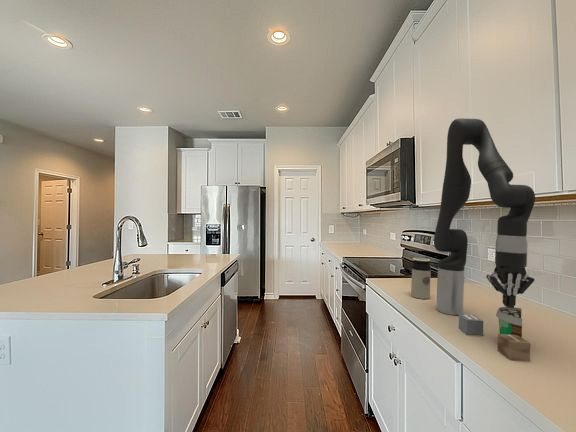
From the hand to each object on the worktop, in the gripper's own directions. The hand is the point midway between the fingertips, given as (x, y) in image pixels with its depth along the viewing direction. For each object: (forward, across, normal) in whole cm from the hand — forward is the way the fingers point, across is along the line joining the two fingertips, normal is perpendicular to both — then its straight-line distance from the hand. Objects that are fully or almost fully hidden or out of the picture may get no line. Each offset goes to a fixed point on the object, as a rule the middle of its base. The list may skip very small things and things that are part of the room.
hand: (508, 306), depth 85 cm
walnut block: (+11, +4, +8) cm, 14 cm away
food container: (+11, 0, 0) cm, 11 cm away
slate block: (+11, +7, -7) cm, 15 cm away
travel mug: (+12, +8, -46) cm, 48 cm away
